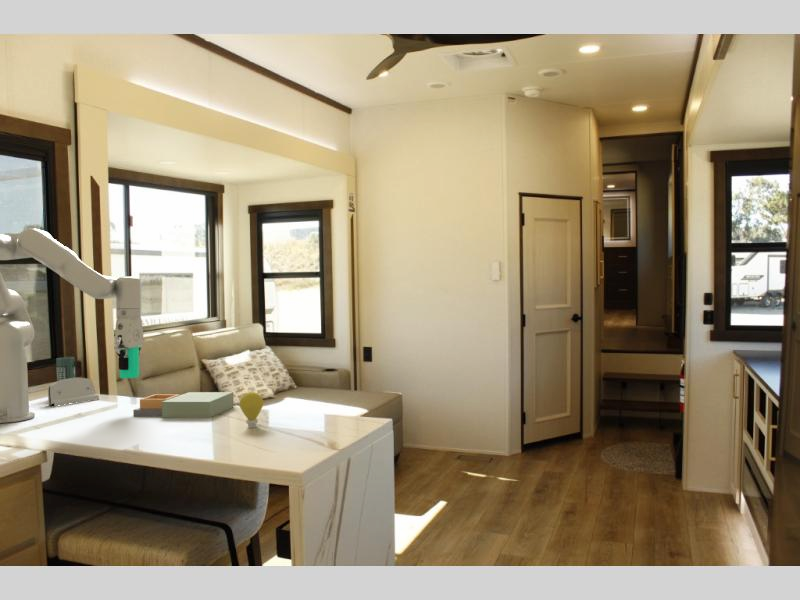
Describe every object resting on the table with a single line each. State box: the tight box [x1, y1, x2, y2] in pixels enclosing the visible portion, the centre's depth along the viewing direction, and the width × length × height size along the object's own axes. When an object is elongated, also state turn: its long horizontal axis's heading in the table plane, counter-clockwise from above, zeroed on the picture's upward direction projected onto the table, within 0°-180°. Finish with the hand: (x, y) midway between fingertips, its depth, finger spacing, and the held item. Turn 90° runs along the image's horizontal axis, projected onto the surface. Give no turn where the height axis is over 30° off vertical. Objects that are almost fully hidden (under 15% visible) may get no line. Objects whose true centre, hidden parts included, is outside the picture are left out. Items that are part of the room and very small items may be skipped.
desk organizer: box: [133, 391, 234, 419], centre depth 216 cm, size 18×27×5 cm, turn 81°
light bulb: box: [239, 391, 264, 429], centre depth 190 cm, size 7×7×10 cm
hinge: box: [47, 377, 100, 407], centre depth 241 cm, size 17×5×10 cm, turn 143°
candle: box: [119, 346, 140, 379], centre depth 218 cm, size 6×6×12 cm
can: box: [55, 356, 76, 382], centre depth 254 cm, size 6×6×15 cm
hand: (128, 368), depth 218 cm, fingers closed on candle, 5 cm apart
